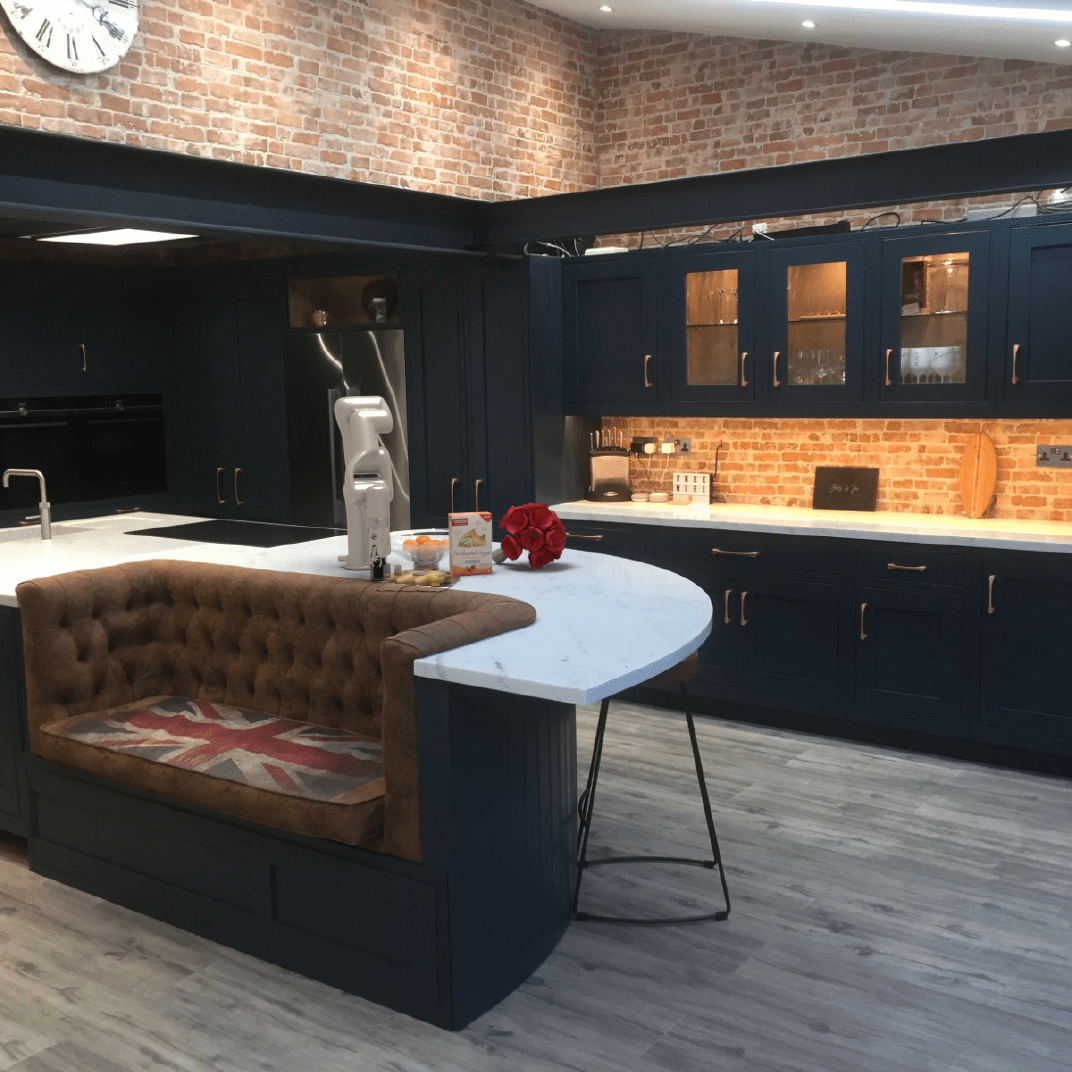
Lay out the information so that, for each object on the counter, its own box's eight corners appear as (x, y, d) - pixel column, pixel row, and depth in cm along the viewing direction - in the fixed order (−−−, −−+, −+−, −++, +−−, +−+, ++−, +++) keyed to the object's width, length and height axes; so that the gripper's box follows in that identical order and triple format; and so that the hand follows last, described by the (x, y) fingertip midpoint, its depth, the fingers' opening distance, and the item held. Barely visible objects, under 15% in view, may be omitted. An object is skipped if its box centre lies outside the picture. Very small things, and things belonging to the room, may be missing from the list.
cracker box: (452, 576, 393) (451, 514, 390) (449, 573, 399) (447, 512, 396) (493, 574, 397) (492, 512, 394) (489, 571, 403) (487, 510, 400)
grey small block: (370, 579, 389) (369, 564, 388) (373, 577, 392) (373, 562, 391) (387, 580, 388) (387, 564, 387) (390, 578, 391) (390, 563, 390)
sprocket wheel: (375, 587, 370) (374, 570, 369) (396, 574, 391) (395, 559, 391) (443, 588, 366) (442, 571, 365) (460, 575, 387) (460, 560, 387)
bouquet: (488, 589, 406) (550, 552, 390) (463, 527, 411) (523, 488, 395) (525, 583, 424) (586, 548, 407) (501, 525, 429) (560, 487, 412)
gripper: (381, 526, 378) (383, 582, 381) (396, 519, 394) (398, 572, 397) (359, 526, 379) (361, 582, 382) (375, 518, 395) (377, 572, 398)
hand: (380, 576), depth 390 cm, fingers closed on grey small block, 3 cm apart
